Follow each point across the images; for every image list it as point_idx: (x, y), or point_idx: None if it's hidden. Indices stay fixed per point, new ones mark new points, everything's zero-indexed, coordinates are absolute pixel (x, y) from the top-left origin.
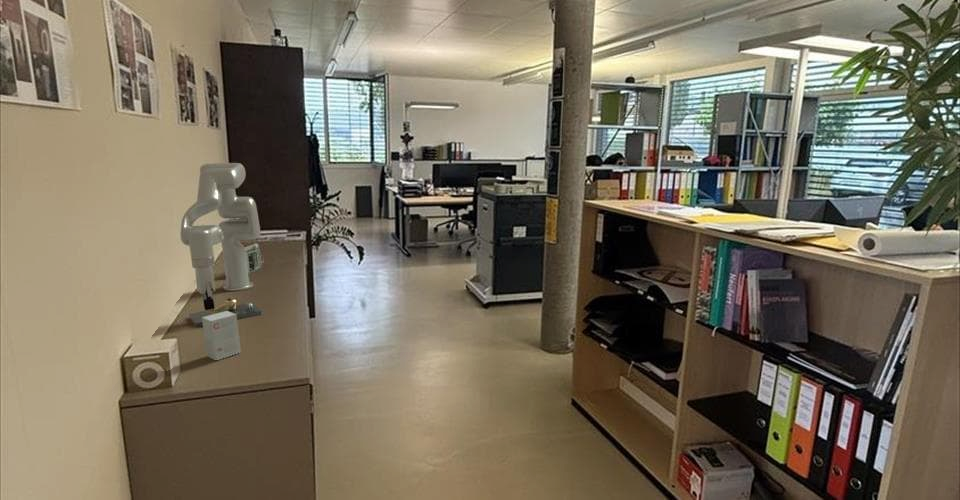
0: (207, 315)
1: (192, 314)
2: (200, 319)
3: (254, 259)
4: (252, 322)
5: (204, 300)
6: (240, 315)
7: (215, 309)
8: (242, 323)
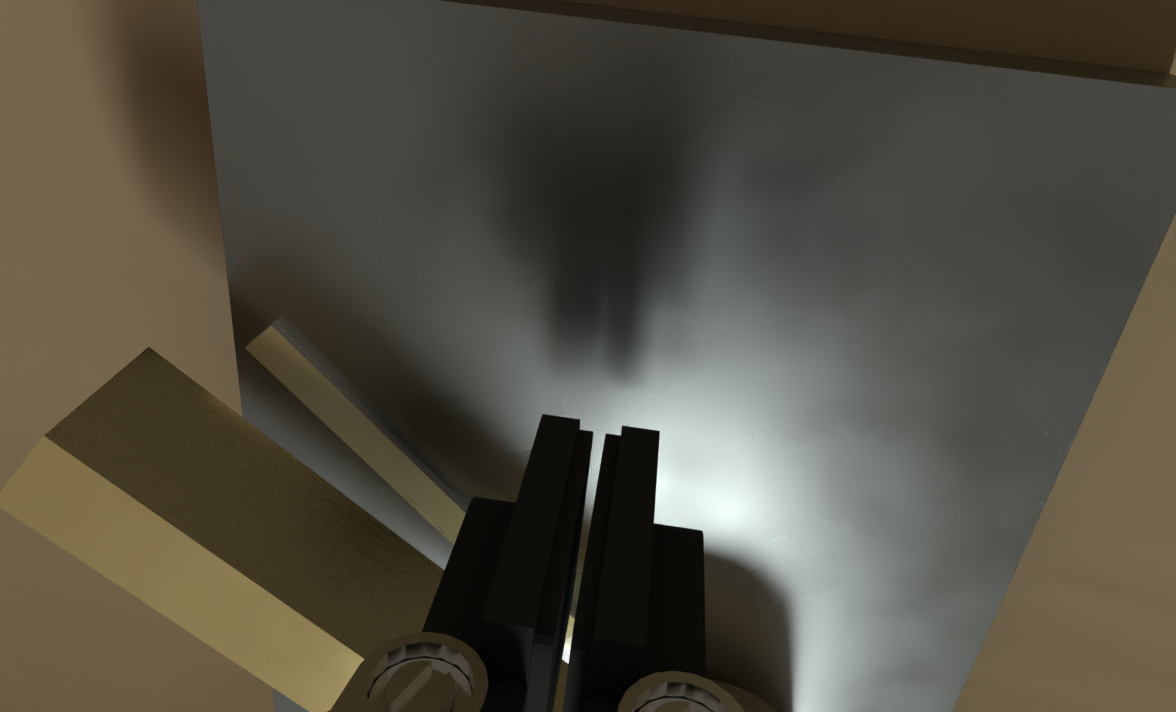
0: (658, 372)
1: (1069, 146)
2: (450, 170)
3: None
4: (11, 689)
5: (484, 625)
6: (281, 710)
7: (124, 555)
8: (31, 603)
